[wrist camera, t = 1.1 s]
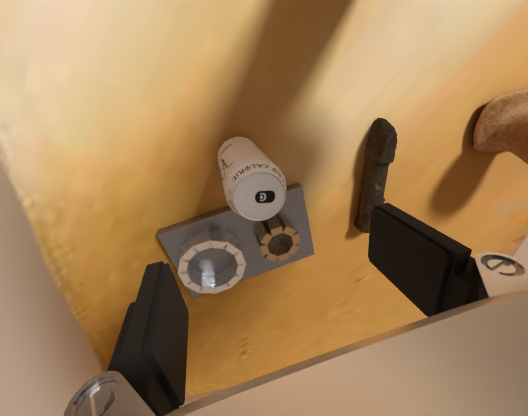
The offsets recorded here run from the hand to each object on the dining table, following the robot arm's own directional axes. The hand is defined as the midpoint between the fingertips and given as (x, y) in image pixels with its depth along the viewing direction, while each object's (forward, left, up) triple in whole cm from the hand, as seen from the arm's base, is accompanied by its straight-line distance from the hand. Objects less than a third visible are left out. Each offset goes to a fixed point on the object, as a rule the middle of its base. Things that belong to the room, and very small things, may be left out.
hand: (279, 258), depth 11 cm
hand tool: (-21, +12, -27) cm, 36 cm away
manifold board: (+3, +16, -26) cm, 31 cm away
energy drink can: (-1, +2, -26) cm, 26 cm away
